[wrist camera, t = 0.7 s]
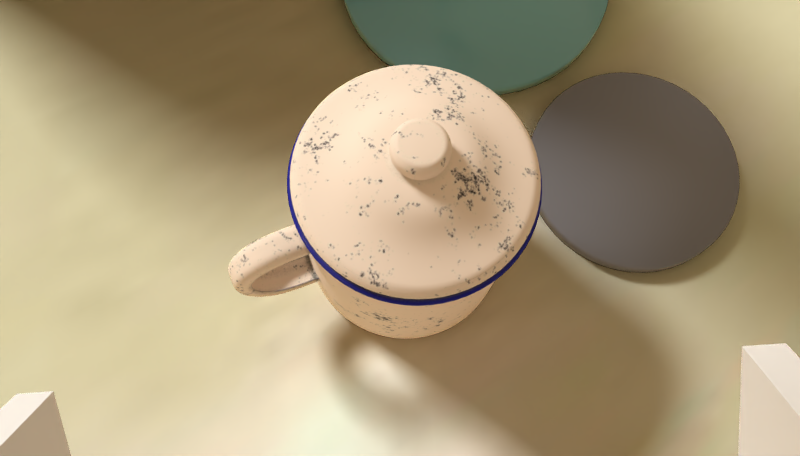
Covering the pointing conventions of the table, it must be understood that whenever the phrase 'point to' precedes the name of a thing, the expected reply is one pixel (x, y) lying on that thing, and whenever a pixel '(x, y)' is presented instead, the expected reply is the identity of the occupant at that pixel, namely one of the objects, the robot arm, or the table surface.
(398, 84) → the teacup with lid
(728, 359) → the table surface
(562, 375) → the table surface
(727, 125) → the table surface
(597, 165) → the charcoal coaster
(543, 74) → the teal coaster
